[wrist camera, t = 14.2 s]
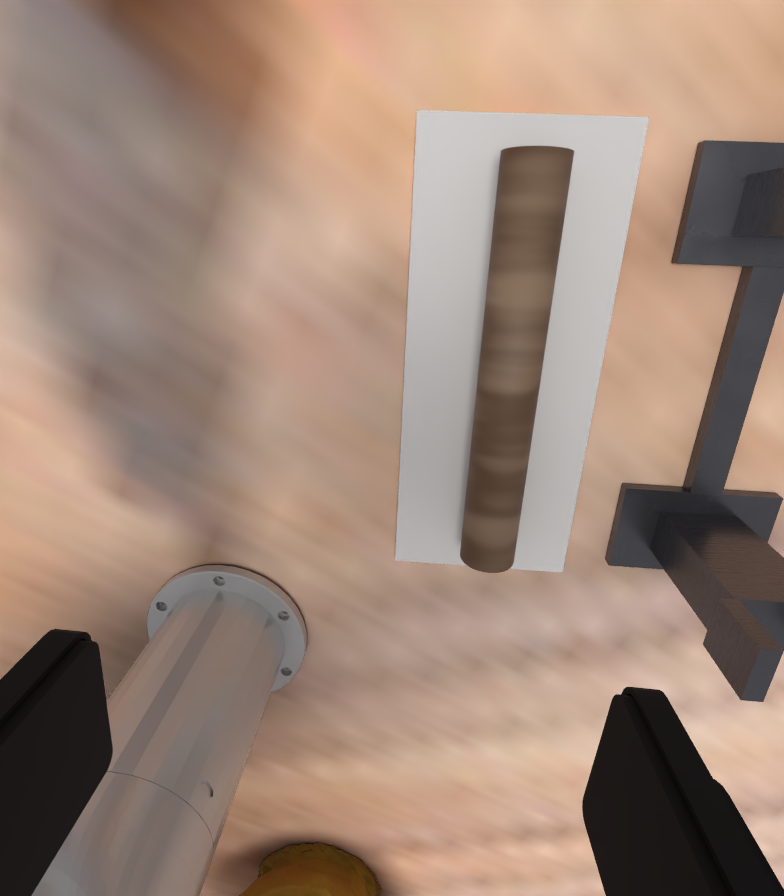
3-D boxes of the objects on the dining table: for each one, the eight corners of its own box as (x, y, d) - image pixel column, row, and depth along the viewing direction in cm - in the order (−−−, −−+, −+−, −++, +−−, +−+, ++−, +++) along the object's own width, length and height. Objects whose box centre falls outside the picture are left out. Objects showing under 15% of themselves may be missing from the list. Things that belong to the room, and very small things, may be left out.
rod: (505, 542, 37) (520, 572, 34) (455, 542, 37) (466, 573, 33) (558, 158, 28) (586, 148, 25) (492, 155, 28) (512, 143, 24)
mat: (560, 567, 38) (562, 572, 37) (395, 556, 38) (395, 560, 38) (645, 119, 28) (649, 116, 27) (417, 112, 28) (417, 109, 28)
